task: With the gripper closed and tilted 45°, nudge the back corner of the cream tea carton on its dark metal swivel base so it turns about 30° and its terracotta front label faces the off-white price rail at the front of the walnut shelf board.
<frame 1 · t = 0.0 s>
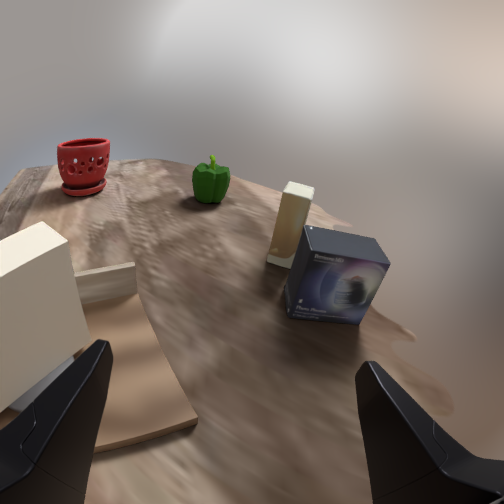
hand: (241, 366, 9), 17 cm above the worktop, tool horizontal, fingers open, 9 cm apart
small box: (320, 309, 39), on the worktop
skincare box: (281, 258, 48), on the worktop
shelf board: (37, 379, 20), on the worktop
plant pot: (84, 190, 60), on the worktop
bell pepper: (208, 200, 64), on the worktop
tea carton: (7, 326, 16), point 8 cm above the worktop, hinge at 30.0°
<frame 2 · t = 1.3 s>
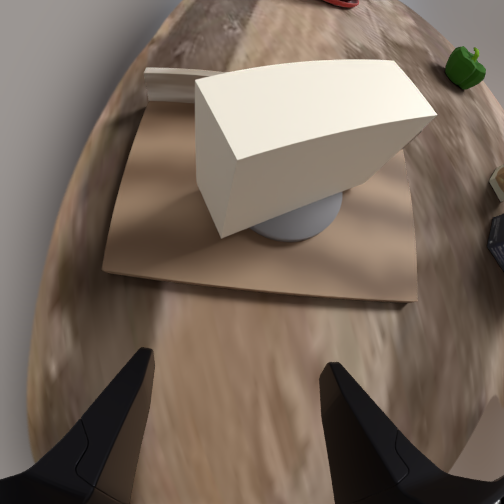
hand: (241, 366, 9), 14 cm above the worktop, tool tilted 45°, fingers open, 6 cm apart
small box: (503, 255, 30), on the worktop
skincare box: (497, 185, 34), on the worktop
shelf board: (280, 193, 26), on the worktop
bell pepper: (454, 80, 40), on the worktop
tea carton: (306, 148, 19), point 8 cm above the worktop, hinge at 30.0°
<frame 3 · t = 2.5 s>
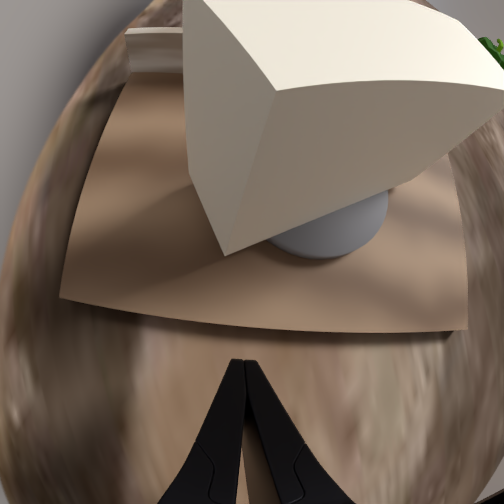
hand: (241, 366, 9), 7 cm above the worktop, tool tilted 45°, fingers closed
shelf board: (304, 191, 19), on the worktop
bell pepper: (476, 72, 33), on the worktop
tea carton: (355, 123, 12), point 8 cm above the worktop, hinge at 30.0°
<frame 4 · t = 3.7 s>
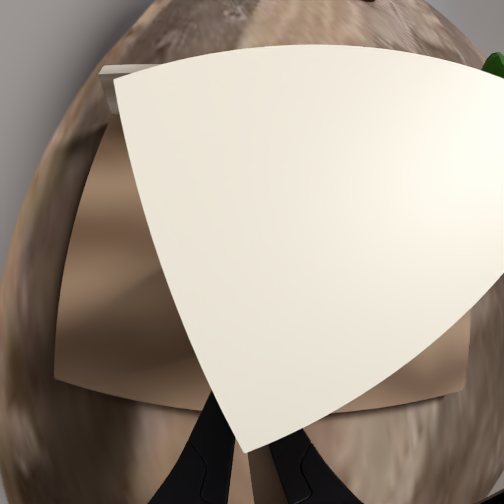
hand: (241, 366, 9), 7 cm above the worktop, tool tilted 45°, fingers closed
shelf board: (305, 261, 17), on the worktop
bell pepper: (488, 90, 31), on the worktop
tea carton: (369, 219, 10), point 8 cm above the worktop, hinge at 28.1°, touching gripper
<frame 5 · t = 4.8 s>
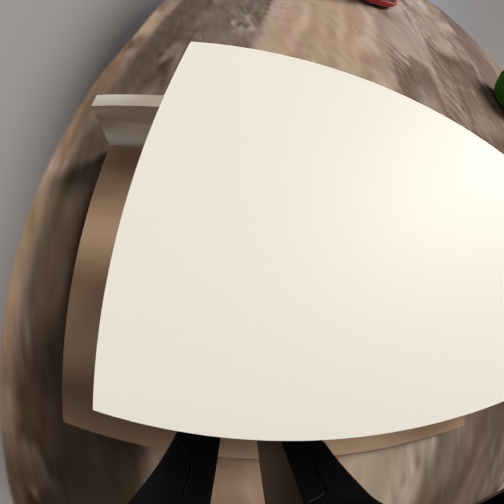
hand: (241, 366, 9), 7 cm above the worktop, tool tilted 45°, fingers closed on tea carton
shelf board: (314, 309, 17), on the worktop
bell pepper: (501, 104, 30), on the worktop
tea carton: (386, 299, 9), point 8 cm above the worktop, hinge at -1.1°, touching gripper
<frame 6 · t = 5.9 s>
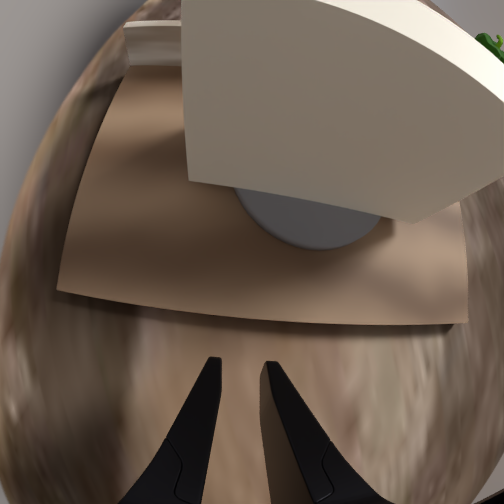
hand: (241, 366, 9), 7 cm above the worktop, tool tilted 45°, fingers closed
shelf board: (303, 182, 19), on the worktop
bell pepper: (476, 68, 32), on the worktop
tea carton: (353, 112, 11), point 8 cm above the worktop, hinge at -1.1°
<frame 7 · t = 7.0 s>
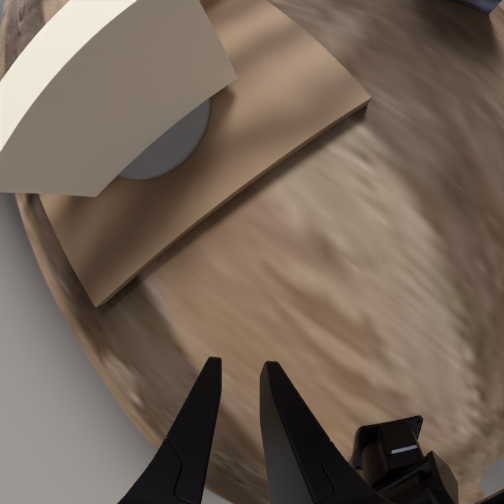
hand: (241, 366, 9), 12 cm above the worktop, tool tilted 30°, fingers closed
shelf board: (159, 124, 21), on the worktop
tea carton: (106, 92, 14), point 8 cm above the worktop, hinge at -1.1°
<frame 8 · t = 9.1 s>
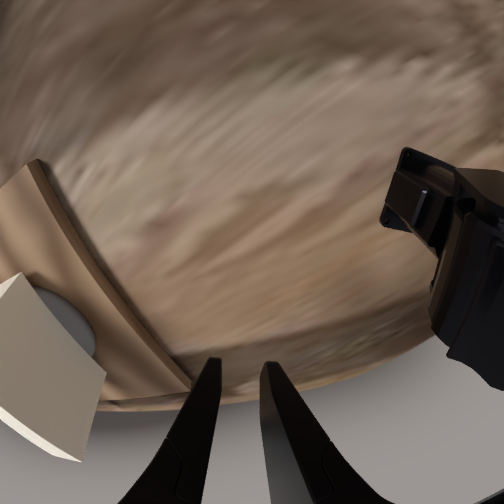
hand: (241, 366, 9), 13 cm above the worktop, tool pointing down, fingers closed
shelf board: (60, 315, 25), on the worktop
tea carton: (32, 369, 18), point 8 cm above the worktop, hinge at -1.1°
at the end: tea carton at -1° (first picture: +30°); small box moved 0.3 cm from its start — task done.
